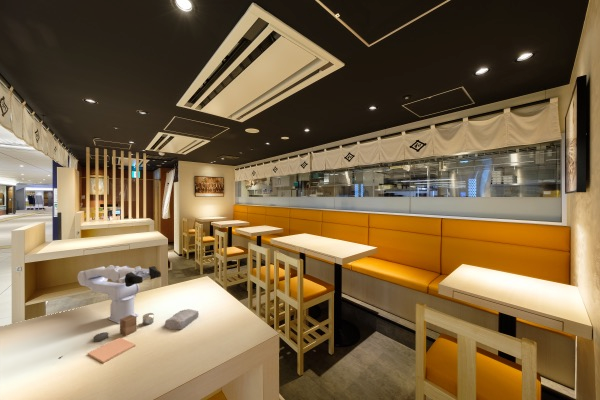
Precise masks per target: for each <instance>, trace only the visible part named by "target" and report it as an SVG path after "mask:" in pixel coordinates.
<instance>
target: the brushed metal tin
mask: <svg viewBox="0 0 600 400" xmlns="http://www.w3.org/2000/svg"><path fill="white" fill-rule="evenodd" d="M154 317H155V315H154V313H152V312H149V313H145V314H143V315H142V326H149V325H153V324H154V319H155V318H154Z"/></svg>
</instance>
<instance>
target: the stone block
mask: <svg viewBox="0 0 600 400" xmlns="http://www.w3.org/2000/svg"><path fill="white" fill-rule="evenodd" d="M197 318H199V311H198V310H194V309H190V308H187V309H182V310H179V311H178V312H176V313H175V314H173V315H172V316H171V317H169V318H167V319H166V320H165V322H164V326H165V328H166V329H168V330H169V329H171V330H184V329H185V328H186V327H188V326H189V325H190V324H192V323H193V322H194V321H195V320H197Z"/></svg>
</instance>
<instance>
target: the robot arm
mask: <svg viewBox="0 0 600 400" xmlns="http://www.w3.org/2000/svg"><path fill="white" fill-rule="evenodd" d="M149 277H150V278H149ZM160 277H162V276H161V271H159V270H158V268H156V265H155V266H149V267H148V268H142V267H141V266H140V265H138V266H135V267H130V266H128V265H124V266H119V265H116V266H114V265H113V264H110V265H108V266H107V267H105V266H99V267H96V268H95V267H94V268H91V269H86V270H81V271H78V274H77V282H78V283H79V285H80V286H82V287H87V288H88V289H90V291H92V292H93V293H99V294H105V295H107V299H110V300H111V302H110V313H109V314H110V317H108V318H107V319H108V320H109V321H112V322H114V323H117V324H119V325H120V319H122V318H124V317H126V316H129V315H133V316H136V318H137V317H138V316H139V314H138V313H135V298H136V297H137V294H138V293H139V291H140V285H139V284H141V283H143V281H144V280H146V279H147V278H149V279H150V280H154V279H156V278H160ZM108 280H111V281H108ZM117 281H118V282H117Z"/></svg>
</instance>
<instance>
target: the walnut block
mask: <svg viewBox="0 0 600 400" xmlns="http://www.w3.org/2000/svg"><path fill="white" fill-rule="evenodd" d="M136 332H137V317H136V316H133V315H129V316H126V317H124V318H122V319H120V324H119V334H120V335H122V336H124V337H128V336H129V335H132V334H133V333H136Z"/></svg>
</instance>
